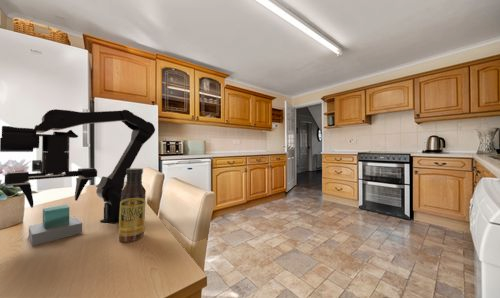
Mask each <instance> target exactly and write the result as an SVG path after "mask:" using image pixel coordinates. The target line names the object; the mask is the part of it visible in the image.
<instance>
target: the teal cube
mask: <svg viewBox="0 0 500 298" xmlns="http://www.w3.org/2000/svg"><path fill="white" fill-rule="evenodd" d="M69 217H70V206H69V205H67V204H66V203H65V204H60V205H54V206H47V207H43V208H42V223H43V226H44V228H45V229H47V228H52V227H56V226H61V225H65V224H69Z"/></svg>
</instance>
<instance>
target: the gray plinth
mask: <svg viewBox="0 0 500 298" xmlns="http://www.w3.org/2000/svg"><path fill="white" fill-rule="evenodd" d="M82 233H83V222H82V221H81V220H79V218H77V217H75V216H69V224H65V225H61V226H56V227H52V228H47V229H45V228H44V226H43V222H42V223H36V224H32V225H29V226H28V238H29V241H30V244H31V246H32V247H34V246H37V245H41V244H45V243H50V242H53V241H57V240H60V239H63V238H67V237H68V238H69V237H71V236H76V235H80V234H82Z"/></svg>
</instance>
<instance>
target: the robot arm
mask: <svg viewBox="0 0 500 298" xmlns="http://www.w3.org/2000/svg"><path fill="white" fill-rule="evenodd" d="M115 122H122V123H123V124H124V125H126V126H127V128H128V129H130V130H132V131H131V134H130V135H131V136H130V141H129V142H128V144H127V146H126V148H125V149H124V151H123V153H122V155H121V156H120V158H119V160H118V161H117V163H116V165H115V167H114V168H113V170H112V172H111V173H110V174H109V175H108V176H101V178H100V181H99V183H98V184H97V185H95V188H96V194H97V195H96V196H97V197H99V198H100V199H102V200H103V202H104V203H103V218H102V219H100V222H99V223H113V224H114V223H115V224H116V223H119V216H120V202H121V192H122V190H123V189H124V187H125V181H126V180H125V178H126V177H127V174H126V169H130V168H132V165H133V163H134V161H135V160H136V158H137V156H138V154H139V152H140V151H141V149H142V147H143V145H144V144H145V143H146V142H148V140H150V139H151V137H153V135H154V134H155V131H156V127H155V126H154V124H153V123H152V122H150V121H146V120H145V119H143V118H142V117H140V116H138V115H136V114H134V113H133V112H131V111H129V110H128V109H122V110H108V111H107V110H105V111H87V112H83V111H77V110H76V111H74V110H68V109H56V108H55V109H54V108H53V109H50V110H48V111H46V113H45V114H44V115H43V116H42V117H41V123H39V124H36V125H34V127H32V128H29V127H14V126H7V125H2V126H1V137H0V153H23V152H24V153H32V152H34V149H40V137H42V140H41V141H42V142H41V153H42V154H41V159H36V160H35V159H33V160H31V172H32V173H29V171H9V172H7V173H5V174H4V185H12V187H13V188H19V189H20V190H21V192H22V193H23V194H24V196H25V198H26V200H27V202H28V204H29V206H30V208H32V209H33V208H34V197H33V192H32V185H31V183H30V181H31V180H33V181H34V180H44V179H45V180H46V179H47V180H48V179H59V178H60V179H61V178H72V177H76V179H75V180H76V184H75V191H74V201H75V202H77V201H78V199H79V197H80V195H81V193H82V191H83V189H84V188H85V187H86V185H87V183H88V181H92V180H93V178H96V177H98V170H97V169H96V168H95V167H94V168H93V167H84V168H80V167H79V168H77V170H70V139H71V138H72V139H76V138H78V137H79V135H78V134H76V133H75V132H74V131H73V130H72V129H70V128H73V127H79V126H82V125H88V124H89V125H90V124H102V123H103V124H104V123H115ZM66 129H70V130H68V131H66V132H65V131H63V130H66ZM51 130H52V131H53V133H52V134H46V132H49V131H51ZM61 130H62V131H61ZM44 133H45V134H44ZM34 172H35V173H34ZM36 172H37V173H36Z"/></svg>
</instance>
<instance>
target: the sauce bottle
mask: <svg viewBox="0 0 500 298" xmlns="http://www.w3.org/2000/svg"><path fill="white" fill-rule="evenodd" d="M143 170H144V169H143V168H140V167H138V168H137V167H134V168H132V167H130V169H126V181H125V182H126V183H125V184H124V187H123V190H122V192H121V202H120V216H119V221H118V241H120V242H122V243H129V242H134V241H137V240H140V239H142V238H143V236H144V233H145V223H146V222H145V220H146V195H147V193H146V192H147V191H146V188H145V187H144V186H143V181H142V179H143V178H142V177H143V176H142V175H143Z"/></svg>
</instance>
